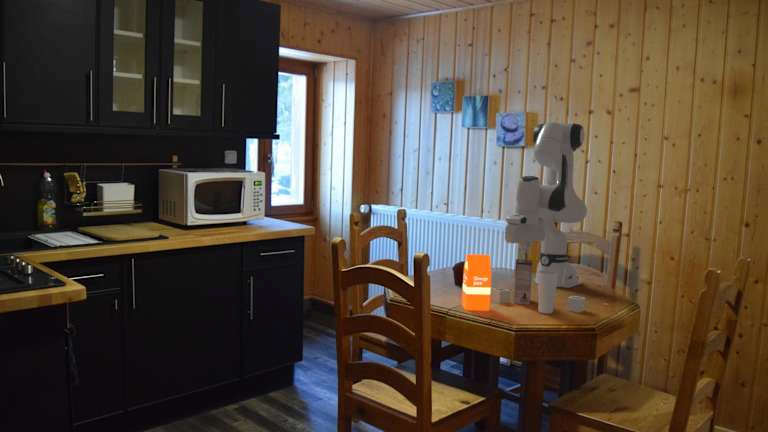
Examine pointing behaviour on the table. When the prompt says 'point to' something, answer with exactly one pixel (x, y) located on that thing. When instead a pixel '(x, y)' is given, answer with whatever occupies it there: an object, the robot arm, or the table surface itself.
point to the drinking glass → (546, 291)
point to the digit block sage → (500, 295)
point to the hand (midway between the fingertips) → (524, 253)
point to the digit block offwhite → (576, 304)
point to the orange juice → (476, 282)
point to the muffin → (458, 273)
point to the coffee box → (522, 281)
